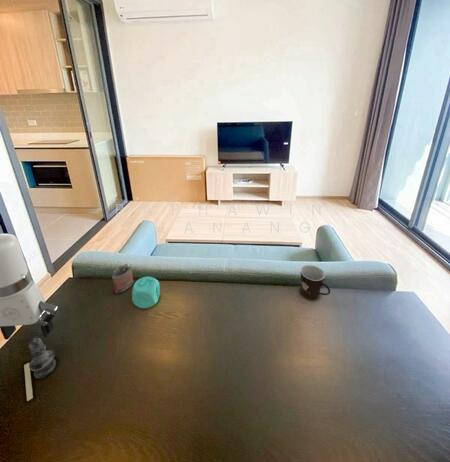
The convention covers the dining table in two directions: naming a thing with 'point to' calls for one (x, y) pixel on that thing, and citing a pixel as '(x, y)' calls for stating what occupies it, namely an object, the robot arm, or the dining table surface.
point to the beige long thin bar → (28, 382)
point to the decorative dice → (146, 292)
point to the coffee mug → (312, 282)
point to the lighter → (122, 278)
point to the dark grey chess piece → (41, 359)
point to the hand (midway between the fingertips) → (30, 333)
